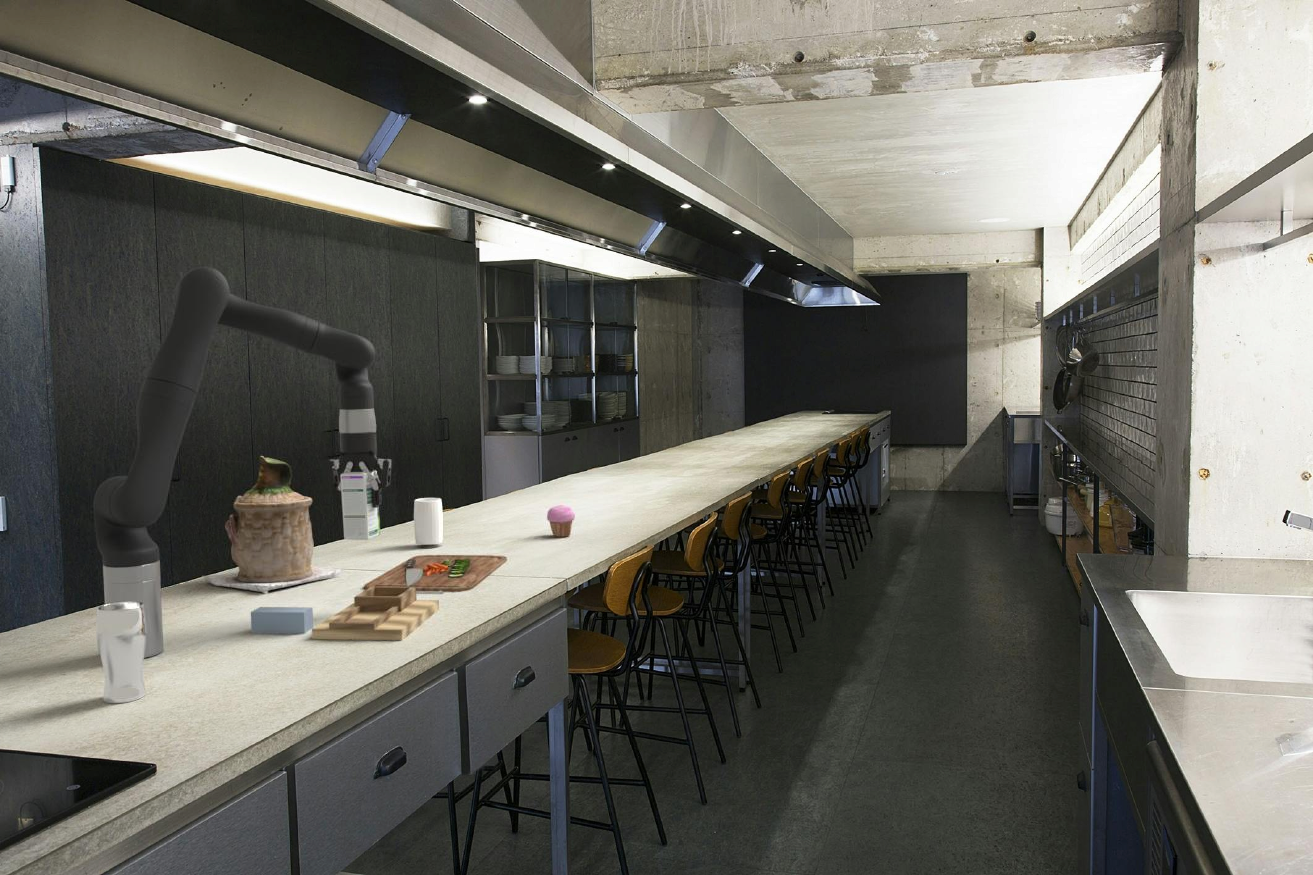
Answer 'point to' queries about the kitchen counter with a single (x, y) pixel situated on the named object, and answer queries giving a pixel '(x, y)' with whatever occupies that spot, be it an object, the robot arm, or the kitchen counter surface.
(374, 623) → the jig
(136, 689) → the beer glass
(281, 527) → the cookie jar
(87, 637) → the kitchen counter surface
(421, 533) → the cup
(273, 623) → the block
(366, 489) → the syrup box
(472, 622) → the kitchen counter surface
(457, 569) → the chopping board
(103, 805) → the kitchen counter surface
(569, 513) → the cupcake
